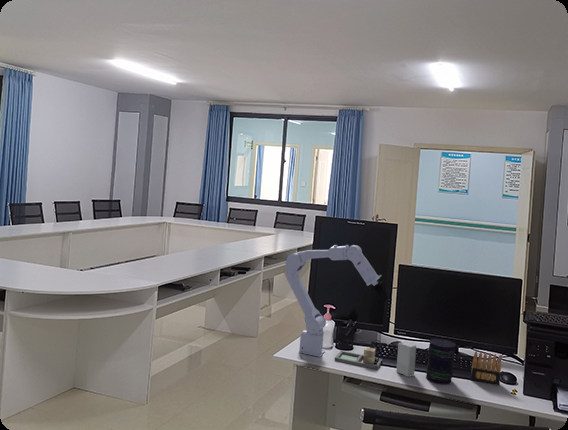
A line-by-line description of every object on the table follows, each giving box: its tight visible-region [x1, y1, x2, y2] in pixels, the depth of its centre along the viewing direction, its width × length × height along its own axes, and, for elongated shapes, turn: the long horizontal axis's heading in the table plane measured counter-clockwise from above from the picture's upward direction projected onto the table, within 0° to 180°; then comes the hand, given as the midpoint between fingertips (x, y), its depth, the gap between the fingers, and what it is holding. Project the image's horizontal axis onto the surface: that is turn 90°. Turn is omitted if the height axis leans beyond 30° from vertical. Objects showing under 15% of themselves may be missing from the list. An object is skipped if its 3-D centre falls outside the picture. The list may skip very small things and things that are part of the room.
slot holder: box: [334, 350, 383, 370], centre depth 217 cm, size 18×10×1 cm, turn 69°
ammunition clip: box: [470, 350, 502, 386], centre depth 205 cm, size 11×2×12 cm, turn 72°
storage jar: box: [425, 338, 456, 386], centre depth 203 cm, size 10×10×15 cm
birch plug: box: [362, 346, 377, 365], centre depth 215 cm, size 4×4×6 cm
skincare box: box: [395, 341, 417, 377], centre depth 207 cm, size 6×4×12 cm
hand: (385, 299), depth 211 cm, fingers open, 7 cm apart
